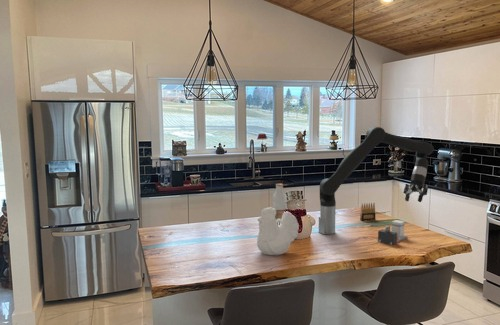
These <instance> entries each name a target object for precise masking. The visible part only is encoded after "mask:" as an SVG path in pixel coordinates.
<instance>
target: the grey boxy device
mask: <svg viewBox="0 0 500 325" xmlns="http://www.w3.org/2000/svg"><path fill="white" fill-rule="evenodd" d="M377 233H378V235H377V238H378V239H377V242H379V243H383V244H387V245H391V246H394V245H396V244H398V243H400V242H402V241H404V240H406V239H408V236H407V234H404V236H402V237H400V238H397V233H396V232H392V230H391V225H385V228H384V229H380V230H378V231H377Z"/></svg>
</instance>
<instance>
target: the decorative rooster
mask: <svg viewBox="0 0 500 325" xmlns="http://www.w3.org/2000/svg"><path fill="white" fill-rule="evenodd" d="M275 215H276V210H275V209H274V208H272V207H266V208H263V209H262V210H261V212H260V216H259V217H258V218H257V221H258V229H259V230H258V235H257V241H256V245H257V248H258V250H259V251H260V252H261V253H262V254H264V255H266V256H267V255H268V256H269V255H270V256H278V255H284V254H285V253H286V252H287V251H288V250H289V248H290V246H291V242H294V241H295V239H296V238H297V237H298V234H299V229H300V228H299V227H300V225H299V222H298V219H297V217H296V216H295V215H293V213H291V212H289V211H288V210H287V211H286V212H284V213H283V215H282V219H277V220H276V218H275ZM278 221H280V225H277V223H278Z"/></svg>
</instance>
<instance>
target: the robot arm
mask: <svg viewBox="0 0 500 325" xmlns="http://www.w3.org/2000/svg"><path fill="white" fill-rule="evenodd" d="M365 135H366V137H365V139H364V140H363V141H362V142H361V143H360V144H359V145H357V146H355V148H353V149H352V150H351V151H349V152H348V153H347V154H346V156H345V157H344V158H343V159H342V160H341V162H340V163H339V165H338V166H337V168H336V171H335V172H334V173H333V174H332V175H331V176H330V177H329V178H324V179H322V180H321V181H320V184H319V203H320V204H319V205H320V206H319V211H320V212H319V217H318V233H320V234H322V235H334V234H335V233H336V208H337V207H336V203H337V202H336V196H335V195H336V194H335V193H336V192H337V191H338V190H339V188H340V187H341V186H342V184H343V183H344V182H345V180H346V179H347V178H349V177H350V175H351V174H352V173H353V172H354V171H355V170H356V169H357V168H358V167H359V166H360V165H361V164H362V162H363V161H364V160H365V159H366V157H367V156H368V155H369V154H370V153H371V152H372V151H373V150H374V149H375V148H376V147H377V146H378V145H379V144H381V143H382V144H386V145H390V146H393V147H396V148H399V149H401V150H404V151H407V152H411V153H414V152H415V163H414V168H413V170H412V174H411V178H410V184H407V183H406V184H405V186H404V189H403V192H402V193H403V194H405V198H404V200H405V201H406V202H409V200H410V198H411V197H410V196H411V194H413V193H418V194H419V195H418V198H417V202H419V203H422V201H423V197H424V196H427V195H428V190H429V185H427V184H426V182H425V181H426V177H427V173H428V167H429V161H428V159H427V156H430V155H431V154H433V152H434V146H433V145H432V143H429V142H425V141H420V140H415V139H410V138H407V137H406V136H405V137H404V136H400V135H396V134H391V133H388V132H386V131H385V129H384V128H383V127H379V126H372V127H370V128H368V129H367V131H366V133H365Z"/></svg>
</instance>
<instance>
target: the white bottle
mask: <svg viewBox="0 0 500 325" xmlns="http://www.w3.org/2000/svg"><path fill="white" fill-rule="evenodd" d="M271 199H272V203H271V204H272V205H271V208H274V209H275V210H276V215H275V218H276V220H277V219H281V218H282V215H283V213H284V212H285V210H286V209H287V207H288V206H287V205H288V204H287V194H286V193H285V192H284V184H283V183H275V191H274V193H273V195H272V198H271ZM287 210H288V209H287ZM278 222H279V221H278ZM277 225H278V223H277Z"/></svg>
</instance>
